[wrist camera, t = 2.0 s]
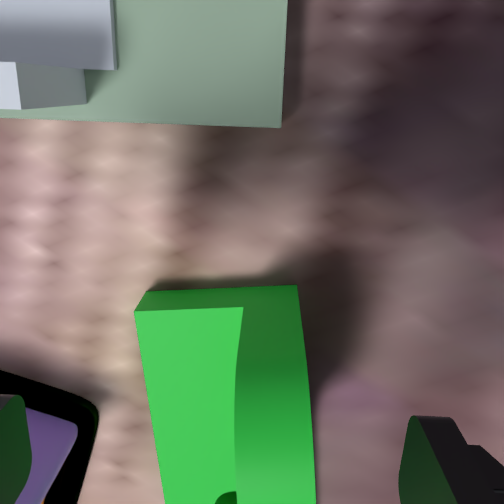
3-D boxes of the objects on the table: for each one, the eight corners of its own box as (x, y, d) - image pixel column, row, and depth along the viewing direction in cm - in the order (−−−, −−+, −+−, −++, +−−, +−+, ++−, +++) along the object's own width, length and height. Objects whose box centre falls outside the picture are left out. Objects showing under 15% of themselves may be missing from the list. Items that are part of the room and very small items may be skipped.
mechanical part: (147, 289, 19) (64, 423, 11) (296, 282, 19) (313, 416, 11) (181, 514, 23) (136, 725, 15) (304, 512, 22) (321, 727, 15)
